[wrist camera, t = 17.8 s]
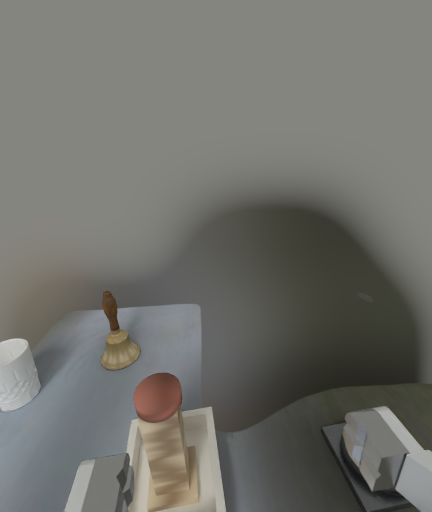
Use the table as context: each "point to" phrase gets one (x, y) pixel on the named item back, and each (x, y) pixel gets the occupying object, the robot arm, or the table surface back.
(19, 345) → the white cup
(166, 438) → the beige red tall post
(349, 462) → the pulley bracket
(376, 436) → the robot arm
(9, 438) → the table surface
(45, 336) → the table surface
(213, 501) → the tray
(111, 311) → the hand bell
